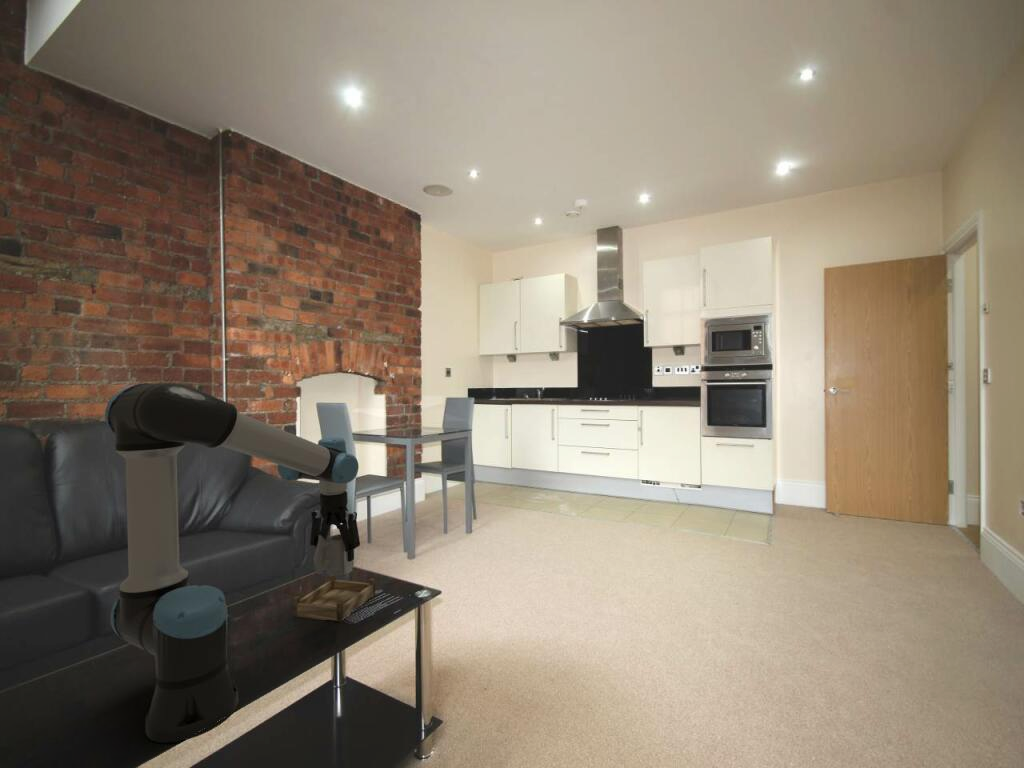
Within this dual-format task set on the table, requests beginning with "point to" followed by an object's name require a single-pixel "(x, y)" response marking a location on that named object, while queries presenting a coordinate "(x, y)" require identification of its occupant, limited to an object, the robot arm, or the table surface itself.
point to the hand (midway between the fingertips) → (335, 570)
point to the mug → (330, 555)
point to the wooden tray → (333, 599)
